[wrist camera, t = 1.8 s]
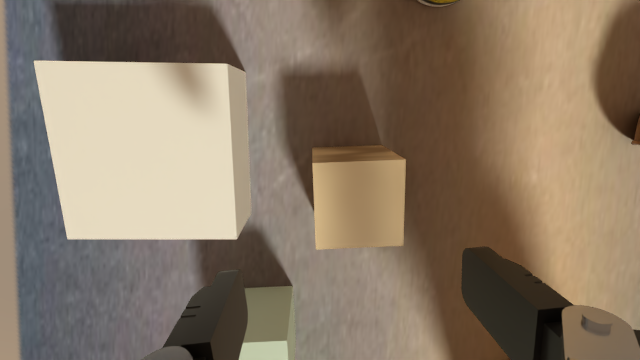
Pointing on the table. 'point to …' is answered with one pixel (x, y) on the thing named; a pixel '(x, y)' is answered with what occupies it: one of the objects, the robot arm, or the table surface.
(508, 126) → the table surface
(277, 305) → the sage cube
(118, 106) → the cream base block
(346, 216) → the oak cube
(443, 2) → the supplement bottle
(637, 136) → the tin
